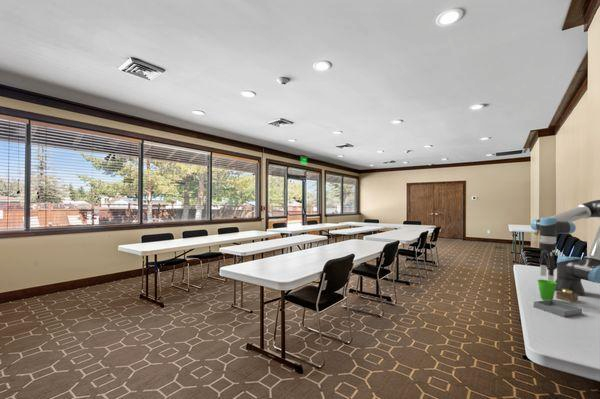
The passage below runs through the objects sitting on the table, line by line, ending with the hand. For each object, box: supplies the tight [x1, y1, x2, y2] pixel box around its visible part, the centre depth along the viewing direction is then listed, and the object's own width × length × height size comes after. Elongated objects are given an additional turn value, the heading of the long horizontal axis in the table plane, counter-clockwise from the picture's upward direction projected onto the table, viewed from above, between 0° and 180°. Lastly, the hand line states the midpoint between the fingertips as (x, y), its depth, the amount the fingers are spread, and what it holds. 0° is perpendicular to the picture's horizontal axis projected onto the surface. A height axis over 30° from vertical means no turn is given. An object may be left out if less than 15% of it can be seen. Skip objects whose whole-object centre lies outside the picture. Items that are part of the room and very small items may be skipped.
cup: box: [537, 279, 557, 301], centre depth 170 cm, size 9×9×11 cm
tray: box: [533, 299, 583, 318], centre depth 152 cm, size 14×14×3 cm
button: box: [562, 289, 572, 295], centre depth 171 cm, size 4×4×3 cm
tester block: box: [555, 291, 579, 303], centre depth 171 cm, size 7×7×4 cm
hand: (546, 278), depth 170 cm, fingers open, 13 cm apart
